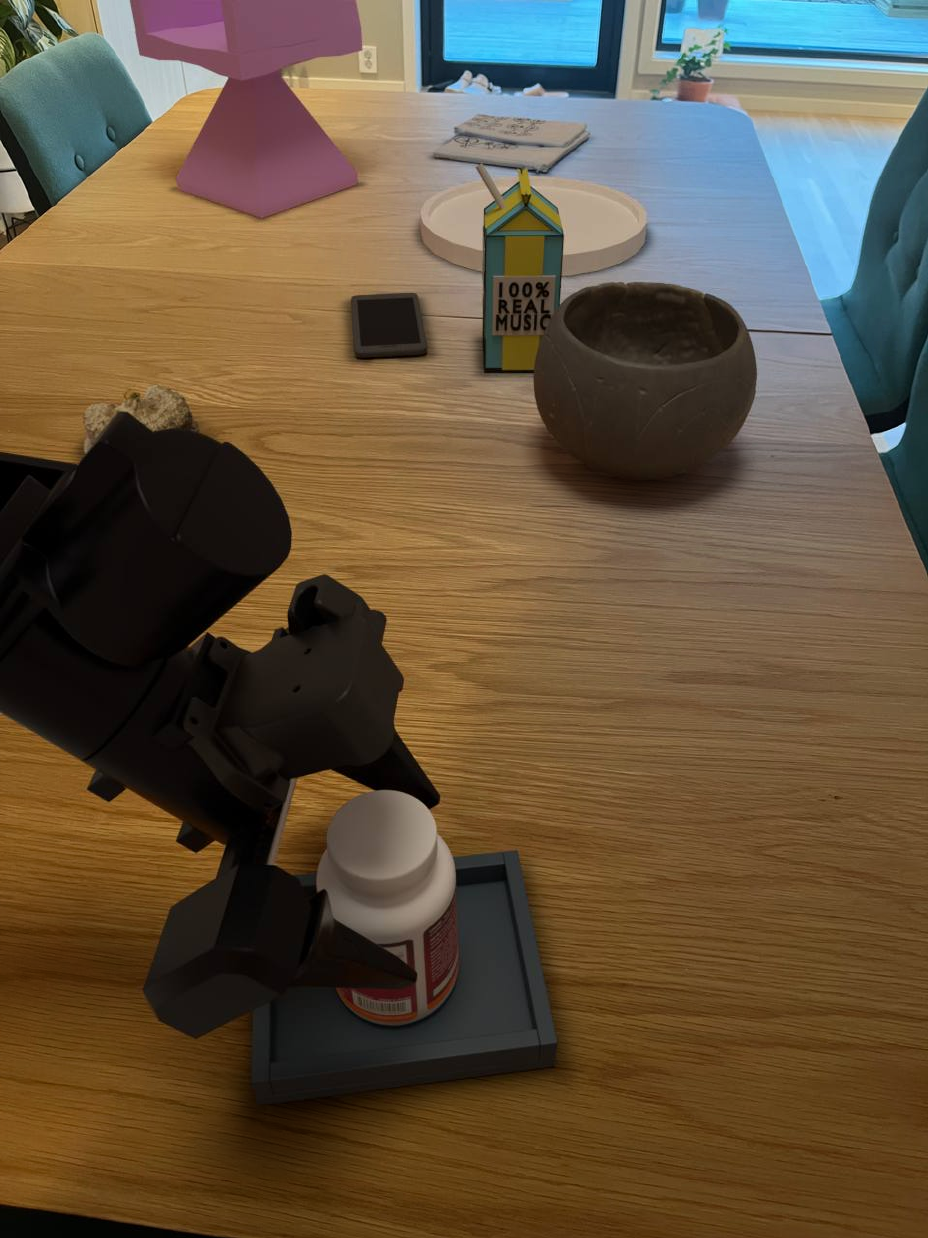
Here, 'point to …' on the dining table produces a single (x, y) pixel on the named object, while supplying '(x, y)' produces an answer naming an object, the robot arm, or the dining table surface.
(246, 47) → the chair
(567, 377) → the bowl
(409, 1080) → the dish
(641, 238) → the plate
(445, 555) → the dining table surface
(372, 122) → the dining table surface
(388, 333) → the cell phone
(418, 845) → the pill bottle
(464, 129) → the folded cloth napkin
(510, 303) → the carton
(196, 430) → the cake
